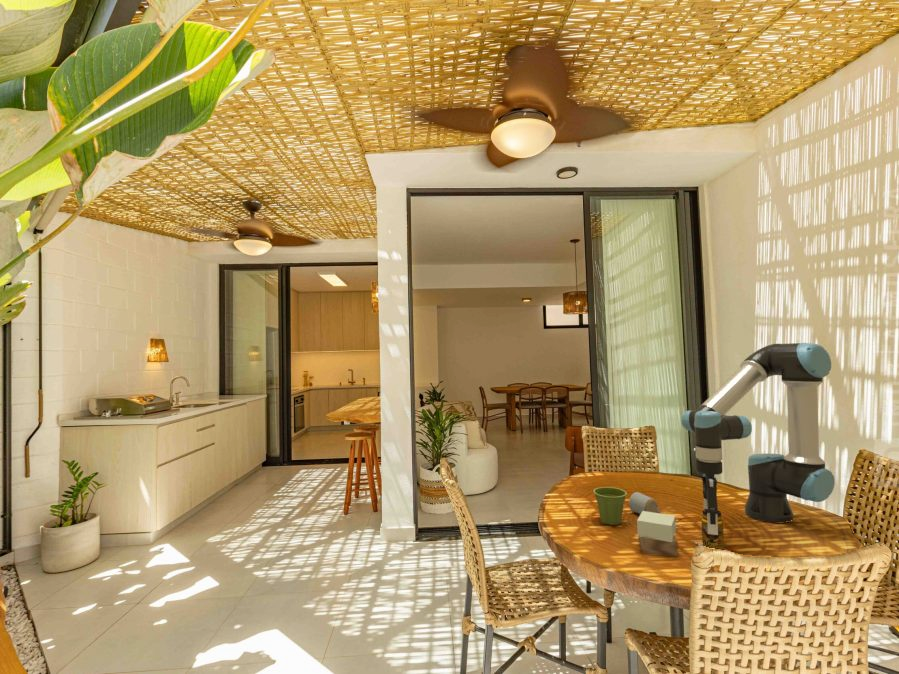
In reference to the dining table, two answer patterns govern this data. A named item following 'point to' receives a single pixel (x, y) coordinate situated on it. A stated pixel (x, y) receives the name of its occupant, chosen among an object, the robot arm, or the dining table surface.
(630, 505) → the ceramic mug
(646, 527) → the sage block
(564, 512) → the dining table surface
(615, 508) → the plant pot
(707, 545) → the condiment
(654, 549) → the walnut block
